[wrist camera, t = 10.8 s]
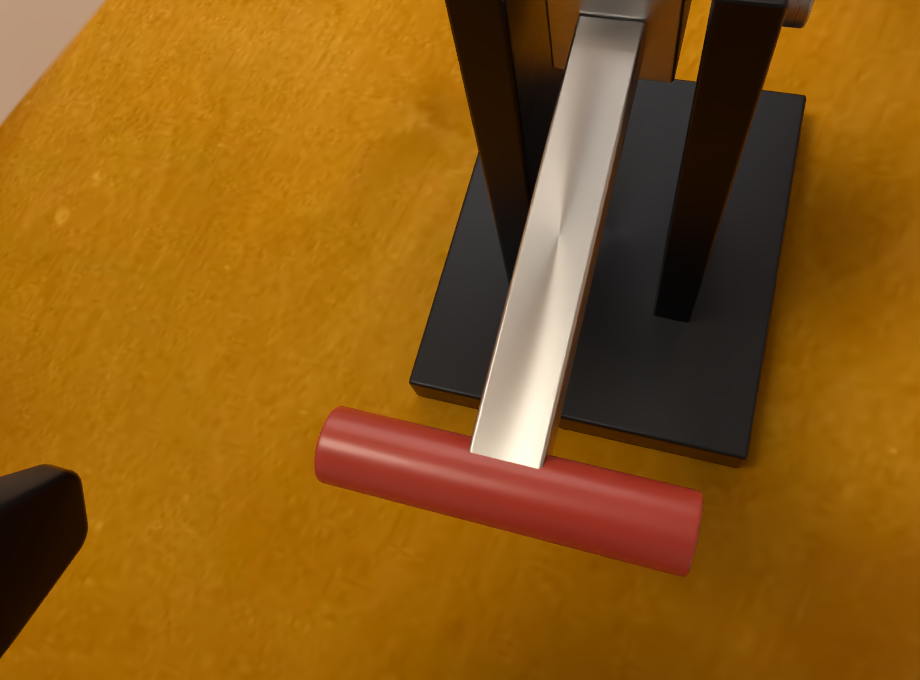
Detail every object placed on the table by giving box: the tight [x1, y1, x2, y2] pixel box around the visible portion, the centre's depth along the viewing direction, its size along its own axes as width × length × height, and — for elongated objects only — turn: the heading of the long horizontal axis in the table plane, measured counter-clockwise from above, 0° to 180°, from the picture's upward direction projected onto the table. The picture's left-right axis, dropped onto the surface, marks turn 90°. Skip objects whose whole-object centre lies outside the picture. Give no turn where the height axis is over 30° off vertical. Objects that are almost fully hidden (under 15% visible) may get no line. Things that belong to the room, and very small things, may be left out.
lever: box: [315, 0, 703, 577], centre depth 13 cm, size 11×6×2 cm, turn 165°
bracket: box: [409, 0, 814, 468], centre depth 18 cm, size 11×9×13 cm
